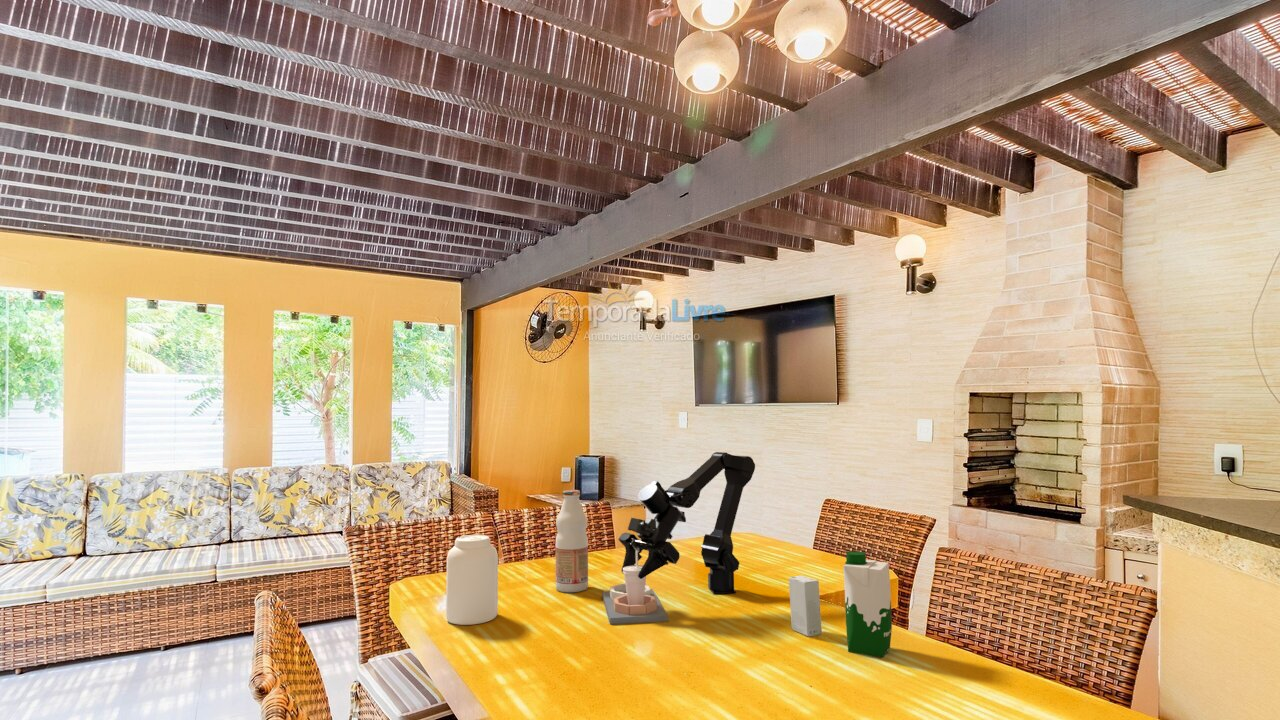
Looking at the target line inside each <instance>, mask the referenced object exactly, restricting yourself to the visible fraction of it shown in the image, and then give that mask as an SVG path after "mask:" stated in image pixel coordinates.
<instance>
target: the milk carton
mask: <svg viewBox="0 0 1280 720" xmlns="http://www.w3.org/2000/svg"><path fill="white" fill-rule="evenodd" d="M845 555H846V556H845V557H846V561H845V563H844V564H843V566H842V567H843V568H842V569H843V580H844V581H843V582H844V603H845V604H844V605H845V627H846V628H845V629H846V640H847V652H849V653H855V654H859V655H863V656H870V657H875V658H882V659H883V658H884V657H885V655H886V654H887V653H888V651H889V650H890V648H891V639H892V633H893V631H892V630H893V629H892V628H893V625H892V623H893V620H892V619H893V618H892V597H891V596H892V593H891V578H890V577H891V575H890V569H889V568H890V567H889V566H890V564H889V562H885V561H877V560H875V559H874V560H873V559H867V554H866V552H863V551H860V550H849V551H846V554H845Z"/></svg>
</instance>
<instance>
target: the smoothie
mask: <svg viewBox="0 0 1280 720" xmlns="http://www.w3.org/2000/svg"><path fill="white" fill-rule="evenodd" d="M642 567H643V564H642V565H639V561H638V551H637V550H636V564H635V565H631V566H626V567H624V568H623V573H624V574H623V573H622V574H623V575H624V584H626V591H627V598H628V605H643V604H644V594H645V585H647V584H646V582H647V576H645V577H644V578H642V579H640V578H639V577H638V575H639V573H640V571H641V569H642Z"/></svg>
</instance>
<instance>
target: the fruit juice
mask: <svg viewBox="0 0 1280 720" xmlns="http://www.w3.org/2000/svg"><path fill="white" fill-rule="evenodd" d="M580 491H581V490H579V489H567V490H563V492H562V495H563V502H562V504H561V508H560V511H559V513H558V515H557V517H556V519H555V525H556V530H557V534H556V537H555V588H556V590H557V591H559V592H561V593H577V592H583V591H586V590H587V589H588V586H589V539H588V534H587V526H588V518H587V514H585V511H584V509H583V506H582V503H581V500H580V496H581V492H580Z"/></svg>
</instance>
